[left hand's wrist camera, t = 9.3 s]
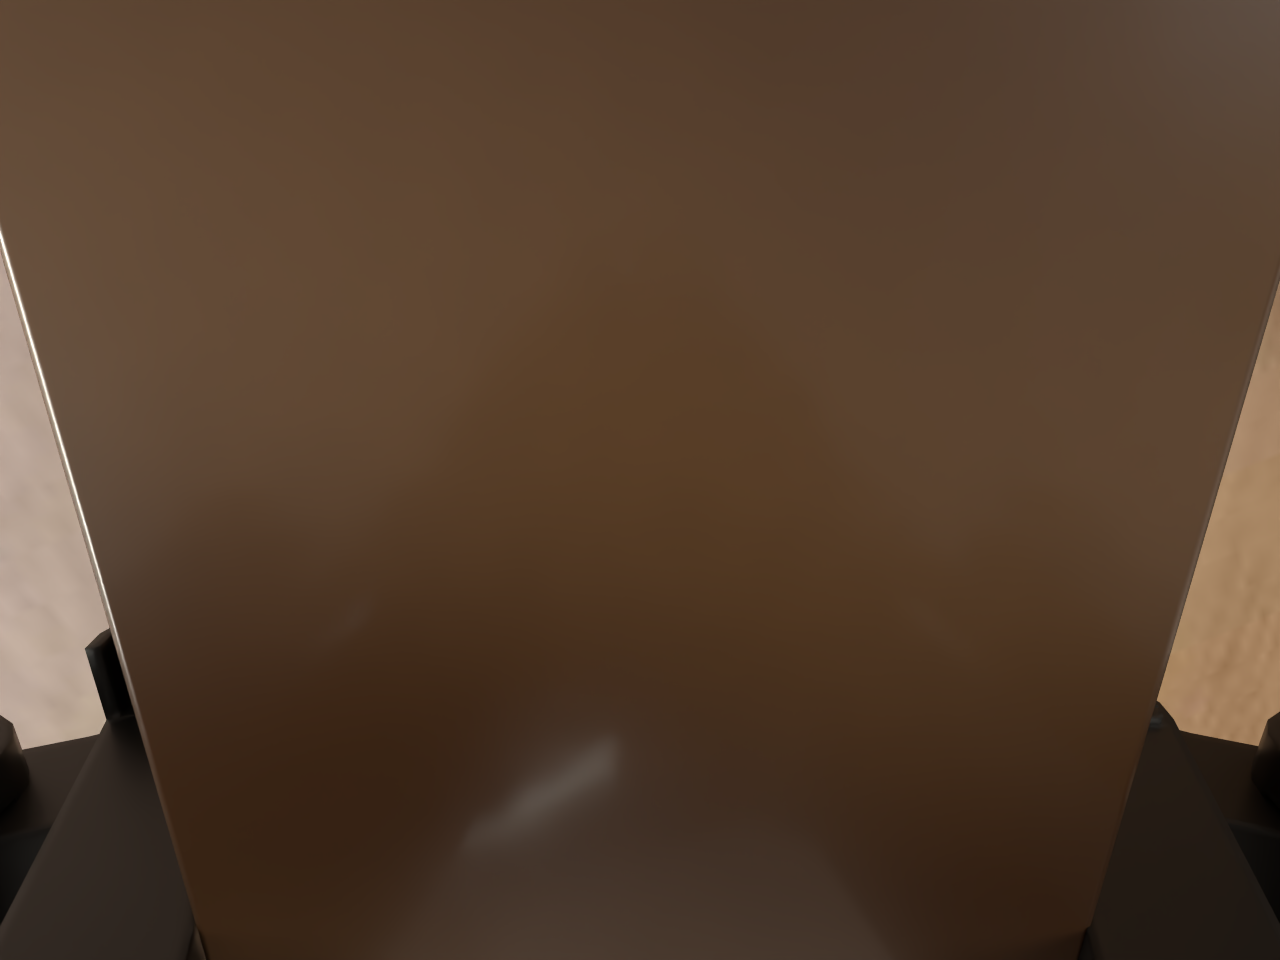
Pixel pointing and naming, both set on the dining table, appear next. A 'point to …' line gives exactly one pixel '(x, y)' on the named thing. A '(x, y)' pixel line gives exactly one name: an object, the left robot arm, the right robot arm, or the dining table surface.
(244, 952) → the box
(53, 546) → the dining table surface
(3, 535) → the dining table surface
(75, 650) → the dining table surface
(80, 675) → the dining table surface
